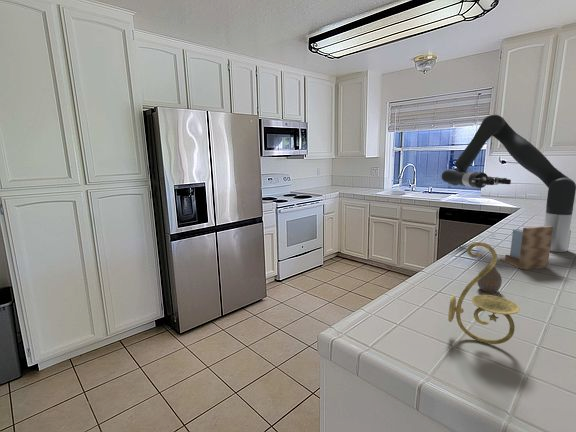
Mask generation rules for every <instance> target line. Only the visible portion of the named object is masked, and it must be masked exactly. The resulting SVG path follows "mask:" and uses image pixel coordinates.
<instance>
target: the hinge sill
mask: <svg viewBox="0 0 576 432" xmlns="http://www.w3.org/2000/svg"><path fill="white" fill-rule="evenodd" d="M522 230H523V235H522V243H521V251H520V259H518V258H515V257H513V256H510V254H505V256H504V258H503V257H502V258H499V261H501V262H504V263H507V264H509V265H511V266H515V267H517V268H519V269H522V270H535V269H545V267H549V259H550V252H551V251H550V246H551V239H552V232H553V227H552V226H544V225H543V226H530V227H523V228H522Z"/></svg>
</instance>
